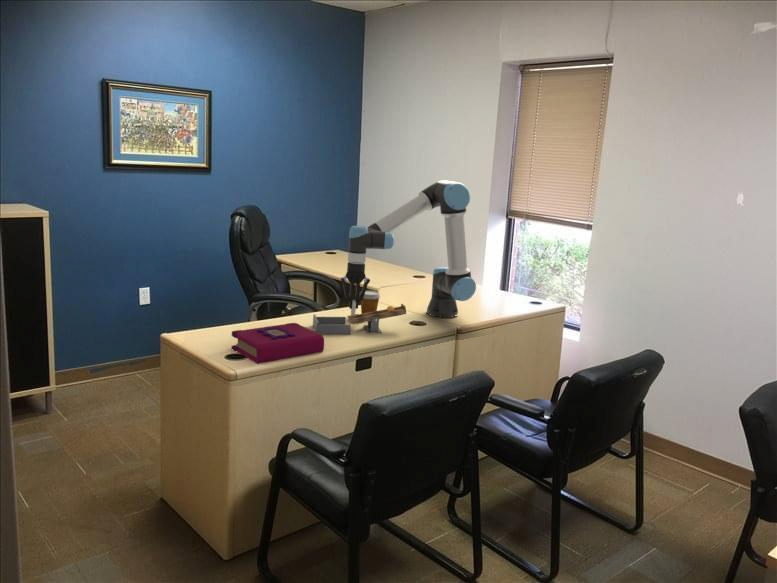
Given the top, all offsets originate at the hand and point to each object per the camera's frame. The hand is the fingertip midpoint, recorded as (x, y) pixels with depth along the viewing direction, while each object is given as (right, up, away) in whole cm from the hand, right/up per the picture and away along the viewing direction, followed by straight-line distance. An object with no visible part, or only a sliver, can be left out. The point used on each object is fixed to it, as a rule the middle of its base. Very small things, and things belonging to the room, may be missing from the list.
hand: (352, 315), depth 281 cm
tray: (-9, -6, -6) cm, 12 cm away
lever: (+10, 0, 0) cm, 10 cm away
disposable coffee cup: (+6, -2, +17) cm, 18 cm away
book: (-26, -12, -38) cm, 48 cm away
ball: (+16, +3, -3) cm, 17 cm away
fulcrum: (+9, -6, -2) cm, 11 cm away
